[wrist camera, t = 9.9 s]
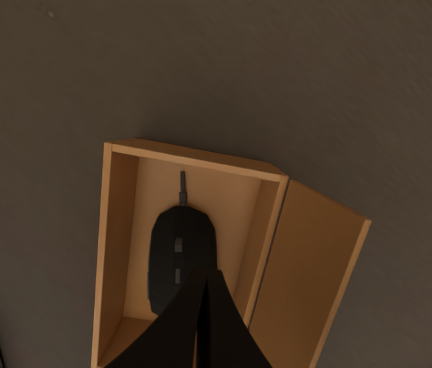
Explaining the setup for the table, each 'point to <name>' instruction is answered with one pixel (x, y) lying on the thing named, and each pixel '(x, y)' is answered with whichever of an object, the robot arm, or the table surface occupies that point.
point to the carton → (162, 201)
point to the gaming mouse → (178, 250)
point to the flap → (305, 276)
